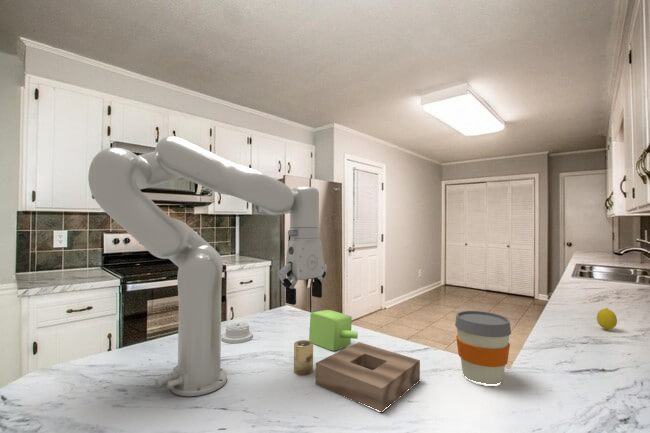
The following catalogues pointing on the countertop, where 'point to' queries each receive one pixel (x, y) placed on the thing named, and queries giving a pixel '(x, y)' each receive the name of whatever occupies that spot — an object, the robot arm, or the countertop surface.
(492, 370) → the reusable coffee cup
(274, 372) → the countertop surface
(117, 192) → the robot arm
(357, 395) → the block
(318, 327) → the gearbox
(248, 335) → the mechanical component
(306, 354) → the bushing
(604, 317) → the lemon
